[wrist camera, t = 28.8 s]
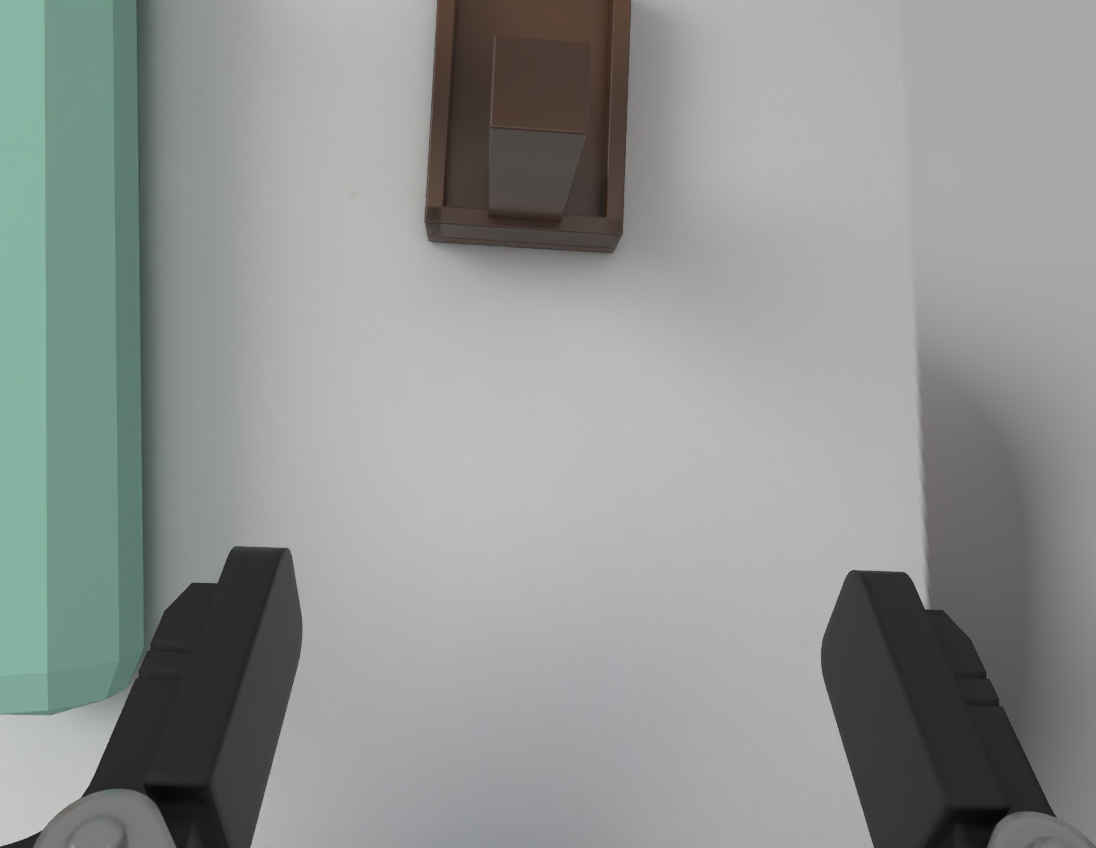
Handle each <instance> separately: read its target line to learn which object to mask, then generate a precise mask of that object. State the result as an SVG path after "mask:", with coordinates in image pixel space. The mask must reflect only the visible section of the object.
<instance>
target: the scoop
mask: <svg viewBox="0 0 1096 848" xmlns="http://www.w3.org/2000/svg"><path fill="white" fill-rule="evenodd" d="M630 19H631V0H437V15H436V32H435V50H434V67H433V84H432V101H431V119H430V136H429V153H428V171H427V188H426V205H425V226H426V231H427V236H428V241H433V242H449V243H464V244H480V245H495V246H511V247H527V248H542V249H558V250H574V251H589V252H605V253H613V252H614V250H615V248H616V246H617V244H618V242H619V240H620V238H621V237H622V235H623V211H624V184H625V156H626V129H627V101H628V74H629V46H630Z"/></svg>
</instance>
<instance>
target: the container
mask: <svg viewBox="0 0 1096 848" xmlns="http://www.w3.org/2000/svg"><path fill="white" fill-rule="evenodd" d="M143 650H144V604H143V519H142V435H141V351H140V266H139V182H138V98H137V13H136V0H0V714H13V715H53V714H57V713H60V712H63V711H67V710H70V709H73V708H77V707H80V706H83V705H87V704H90V703H94V702H97V701H100V700H104V699H107V698H108V697H110V696H112V695H114V694H116V693H117V692H119V691H121V690H123V689H125V688H126V687H127V686H128V684H129V681H130V679H131V677H132V675H133V672H134V670H135V668H136V666H137V664H138V661H139V659H140V657H141V655H142V652H143Z"/></svg>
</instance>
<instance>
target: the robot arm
mask: <svg viewBox="0 0 1096 848" xmlns="http://www.w3.org/2000/svg"><path fill="white" fill-rule="evenodd" d="M301 644H302V615H301V609H300V603H299V597H298V591H297V585H296V579H295V572H294V566H293V560H292V555H291V552H290V550H289V549H288V548H271V547H243V546H235V547H233V548H232V550H231V551H230V553H229V555H228V557H227V560H226V563H225V565H224V568H223V571H222V573H221V576H220V578H219V581H218V584H217V583H191V584H190V585H189V586H188V588H187V589H186V590H185V591H184V592H183V593H182V594H181V595H180V596H179V597H178V598H177V599H176V600H175V601H174V602H173V603H172V604H171V605H170V606H169V607H168V608H167V609H166V610H165V611H164V614H163V616H162V618H161V621H160V623H159V625H158V628H157V630H156V632H155V635H154V637H153V639H152V642H151V644H150V645H151V648H150V651H147V653H146V656H145V658H144V660H143V663H142V665H141V667H140V670H139V677H138V678H136V679H135V681H134V684H133V686H132V688H131V691H130V693H129V695H128V698H127V700H126V702H125V705H124V707H123V709H122V712H121V714H120V716H119V719H118V721H117V723H116V726H115V728H114V730H113V733H112V735H111V737H110V740H109V742H108V744H107V747H106V749H105V751H104V754H103V756H102V758H101V761H100V763H99V765H98V768H97V770H96V773H95V775H94V777H93V779H92V781H91V783H90V785H89V787H88V788H87V790H86V791H85V793H84V794H83V796H82V797H81V798H80V799H79V800H77V801H75V802H74V803H72V804H70V805H69V806H67V807H66V808H65V809H63V810H62V811H61V812H59V813H58V814H57V815H56V816H55V817H54V818H53V819H52V820H51V821H50V822H49V823H48V824H47V826H46V827H45V828H44V829H43V830H42V831H40V832H39V833H37V834H35V835H32V836H30V837H28V838H26V839H23V840H20V841H18V842H15V843H12V844H8V845H4V846H1V847H0V848H250V847H251V843H252V839H253V835H254V831H255V827H256V824H257V820H258V816H259V812H260V808H261V804H262V801H263V797H264V793H265V789H266V785H267V781H268V777H269V774H270V770H271V766H272V762H273V758H274V754H275V751H276V747H277V743H278V739H279V735H280V731H281V728H282V724H283V720H284V716H285V712H286V708H287V705H288V701H289V697H290V693H291V689H292V685H293V682H294V678H295V674H296V670H297V666H298V662H299V658H300V652H301ZM821 665H822V673H823V678H824V682H825V685H826V689H827V692H828V695H829V699H830V702H831V705H832V709H833V712H834V715H835V719H836V722H837V725H838V729H839V732H840V735H841V739H842V742H843V745H844V749H845V752H846V755H847V759H848V762H849V765H850V769H851V772H852V776H853V779H854V782H855V786H856V789H857V792H858V796H859V799H860V802H861V806H862V809H863V812H864V816H865V819H866V822H867V826H868V829H869V832H870V836H871V839H872V842H873V846H874V848H1096V846H1095V845H1094V844H1093V843H1092V842H1091V841H1090V840H1089V839H1088V838H1087V837H1086V836H1084V835H1083V834H1082V833H1081V832H1079V831H1078V830H1077V829H1075V828H1074V827H1072V826H1071V825H1069V824H1067V823H1066V822H1064V821H1061V820H1060V819H1058V818H1057V817H1056V816H1055V814H1054V813H1053V811H1052V809H1051V807H1050V805H1049V804H1048V801H1047V799H1046V797H1045V795H1044V793H1043V791H1042V789H1041V787H1040V785H1039V783H1038V780H1037V778H1036V776H1035V774H1034V772H1033V770H1032V768H1031V766H1030V764H1029V761H1028V759H1027V757H1026V755H1025V753H1024V751H1023V749H1022V747H1021V745H1020V742H1019V740H1018V738H1017V736H1016V734H1015V732H1014V730H1013V728H1012V726H1011V723H1010V722H1009V719H1008V717H1007V715H1006V713H1005V711H1004V709H1003V707H1000V706H999V698H998V696H997V694H996V692H995V690H994V688H993V686H992V683H991V681H990V680H989V679H987V678H986V671H985V669H984V667H983V664H982V662H981V661H980V658H979V656H978V654H977V652H976V650H975V648H974V646H973V644H972V641H971V640H970V638H969V637H968V636H967V635H966V634H965V633H964V632H963V631H962V630H961V629H960V628H959V627H958V626H957V625H956V624H955V623H954V622H953V621H952V619H951V618H950V617H949V616H948V615H947V614H946V613H945V612H944V611H943V610H925V608H924V606H923V604H922V602H921V599H920V597H919V595H918V592H917V590H916V588H915V586H914V583H913V581H912V580H911V578H910V577H909V576H908V575H907V574H906V573H904V572H889V571H861V570H852V571H850V572H849V573H848V575H847V576H846V578H845V581H844V583H843V586H842V589H841V591H840V594H839V597H838V599H837V602H836V605H835V607H834V610H833V613H832V615H831V618H830V621H829V623H828V626H827V628H826V631H825V634H824V637H823V641H822V648H821Z"/></svg>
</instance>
